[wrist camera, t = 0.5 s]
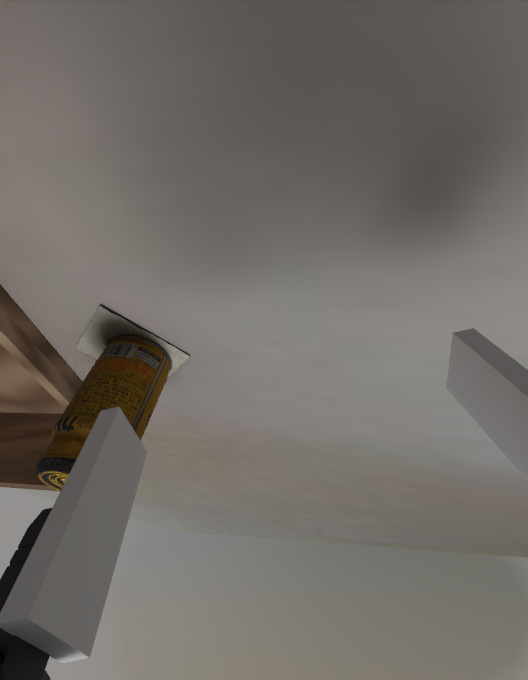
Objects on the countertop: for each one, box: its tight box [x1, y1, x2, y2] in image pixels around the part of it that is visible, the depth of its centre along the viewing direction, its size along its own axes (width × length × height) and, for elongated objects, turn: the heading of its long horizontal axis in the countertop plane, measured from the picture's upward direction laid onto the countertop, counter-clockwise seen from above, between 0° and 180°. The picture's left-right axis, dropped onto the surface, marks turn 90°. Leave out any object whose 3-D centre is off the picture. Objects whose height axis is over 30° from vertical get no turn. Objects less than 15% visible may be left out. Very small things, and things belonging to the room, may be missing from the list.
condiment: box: [35, 306, 190, 491], centre depth 26 cm, size 7×8×12 cm
